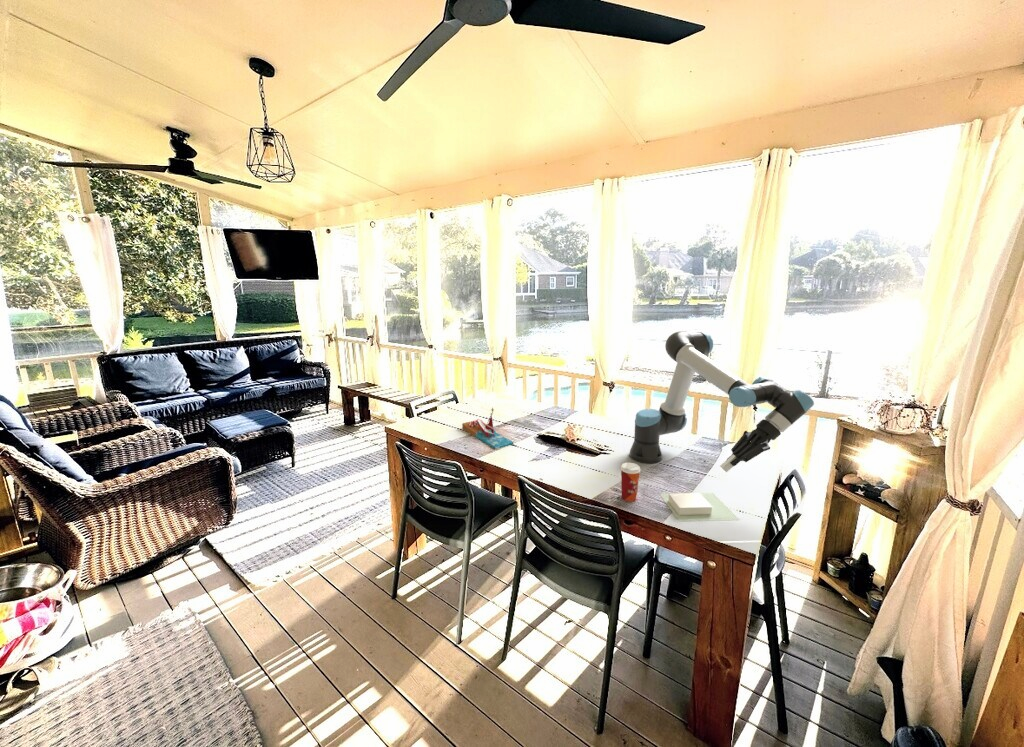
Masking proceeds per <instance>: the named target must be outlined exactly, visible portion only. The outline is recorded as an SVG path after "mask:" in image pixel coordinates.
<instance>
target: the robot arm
mask: <svg viewBox="0 0 1024 747" xmlns="http://www.w3.org/2000/svg"><path fill="white" fill-rule="evenodd" d="M713 348H714V340H713V338H712V336H711V335H710V333H709V332H707V331H706V330H702V329H699V330H698V329H693V330H685V331H683V330H682V331H676V332H674V333H672V334H671V335H669V336H668V337H667V339H666V342H665V351H666V353H667V355H668V356H669V357H670V358H671V359H672V360H673V361H675V362H676V366H675V369H674V372H673V375H672V378H671V382H670V385H669V388H668V390H667V393H666V394H667V395H666V398H665V401H664V402H662V403H661V404H660V406H659V409H653V408H649V409H648V408H644V409H641V410H639V411H637V412H636V414H635V420H634V438H633V439H634V440H633V442H632V444H631V448H630V450H629V457H630V458H631V459H632V460H634V461H635V462H640V463H644V464H654V463H659V462H661V461H662V460H663V459H662V458H663V454H662V451H661V446H660V436H663V435H667V434H668V435H669V434H671V433H673V434H674V433H677V432H680V431H682V430H683V429H684V428H685V427H686V426H687V422H688V419H687V417H686V416H687V414H686V411H685V409H684V406H685V402H686V400H687V396H688V393H689V391H690V388H691V384H692V382H693V379H694V377H695V373H696V374H698V375H699V376H700V377H701V378H704V379H705V380H706V381H708V382H709V383H710V384H712V385H713V386H715V387H716V388H718V389H719V390H721V391H722V392H724V393H725V394H727V395H728V398H729V400H730V403H731V404H732V405H733V406H734V407H738V408H749V407H751V406H755V405H760V404H765V403H767V404H769V405H770V406H772V407H773V408H774V409H773V410H771V411H770V412H769V413H768V414H767V415H766V416H764V419H762V420H760V421H759V422H758V423H757V424H756V425H755V426H756V427H755V429H752V431H747V430H745V431H743V434H742V435H741V437H740V438H739V439H738V441H737V442H735V444H734V445H733V447H732V448H730V449H731V450H730V451H731V452H732V454H730V456H729V457H727V459H726V460H725V461H723V463H722V464H721V465H719V467H720V468H721V469H722V470H723V471H725V473H728V472H729V471H730V470H731V469H732V468H734V467H735V466H737V465H738V464H739V463H740V462H744V463H747V462H749V461H751V460H752V459H754V458H756V457H757V456H759V455H760V454H762V453H764V452H766V451H770V450H771V447H770V446H769V443H771V441H775V440H777V438H779V436H781V433H784V432H785V431H786V430H788V428H790V427H791V426H792V425H793V424H794V423H795V422H796V421H798V420H799V419H801V417H802V416H804V415H805V414H806V413H807V412H808V411H809V410H810V409H811V408H812V407H813V406H814V405H815V403H814V402H815V401H814V399H813V398H812V397H811V396H809V394H807V393H806V392H804V391H802V390H799V389H796V390H794V391H793V392H791V391H789V390H787V389H786V388H784V387H783V386H781V385H780V384H778V383H776V382H775V381H774V380H773V379H770V378H769V377H767V376H763V375H762V376H759V377H758V378H756V379H754V380H753V382H752V383H751V384H750V383H748V382H747V381H745V380H743V379H741V378H740V377H738V375H736V374H734V373H732V372H731V371H730V370H728V369H727V368H724V367H723V366H721V365H720V364H719V363H717V362H716V361H714V360H712V359H711V358H709V357H708V356H707V355H708V354H710V353H712V351H713Z"/></svg>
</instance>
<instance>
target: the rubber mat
mask: <svg viewBox="0 0 1024 747" xmlns="http://www.w3.org/2000/svg"><path fill="white" fill-rule="evenodd" d="M699 493H700V494H701V496H702V497H703V498H704V499H705V500H706V501H707V502H708V503H709V504H710V505H711V506H712V512H711V514H700V515H679V514H678V513H677V512H676V510H675V509H674V508H673V506H672V505H671V504H670V502H669V501H668V497H669V494H670V493H659V496H660V497H661V498H662V500H664V502H665V504H666V505H667V506H668V508H669V509H670V511H671V512H672V513H673V515H674V516H675V517H676V518H677V520H678V522H707V521H711V522H712V521H740V518H739V517H738V516H737V515H736V514H735V513H734V512H733V511H732V510H730V508H729V507H728V506H727V505H726V504H725V503H724V502H723V501H722V500H721V498H719V497H718V496H717V495H716V494H715V493H714V492H699Z"/></svg>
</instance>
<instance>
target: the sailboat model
mask: <svg viewBox="0 0 1024 747" xmlns="http://www.w3.org/2000/svg"><path fill="white" fill-rule="evenodd" d="M494 411H495V410H494V408H493V407H492V408H491V413H490V416H489V419H488V421H487V423H486V422H484V421H483V420H481V419H479V418H478V419H475V420H471V421H468V422H463V423H462V424H461V426H462V428H461V429H462V430H463V431H464V432H466V433H468V434H469V433H470V434H469V435H471V436H473V437H474V436H475V437H474V438H476V439H477V440H479V439H480V440H479V441H480V442H482V441H483V442H482V443H484V444H486V445H487V446H489V447H490V446H491V448H492V449H493V450H499V449H501V448H505V446H506V447H508V446H511V445H514V441H512V440H511V439H509V438H506V437H505V436H503V435H501V434H499V433H497V432H496V430H495V429H494V423H493V422H494V421H493V417H492V416H493V415H494Z"/></svg>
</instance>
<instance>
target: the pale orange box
mask: <svg viewBox="0 0 1024 747" xmlns="http://www.w3.org/2000/svg"><path fill="white" fill-rule="evenodd" d="M700 493H701V492H692V493H691V492H689V493H688V492H685V493H682V492H681V493H678V492H677V493H668V494H669V497H668V501H669V502H670V504H671V505H672V506H673V508H674V509H675V510H676V512H677V513H678V514H679V515H700V514H711V512H712V506H711V505H710V504H709V503H708V502H707V501H706V500H705V499H704V498H703V497H702V496H701V494H700Z"/></svg>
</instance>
